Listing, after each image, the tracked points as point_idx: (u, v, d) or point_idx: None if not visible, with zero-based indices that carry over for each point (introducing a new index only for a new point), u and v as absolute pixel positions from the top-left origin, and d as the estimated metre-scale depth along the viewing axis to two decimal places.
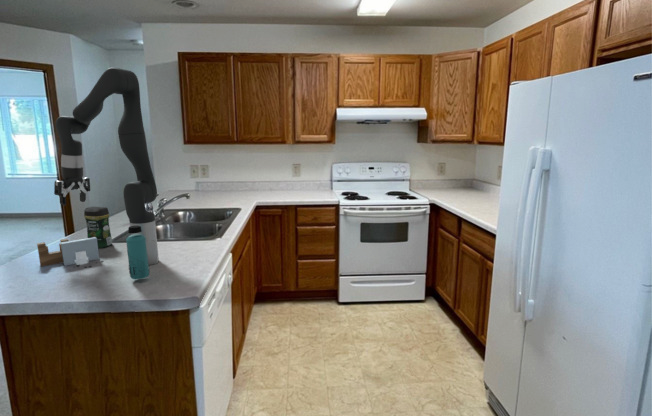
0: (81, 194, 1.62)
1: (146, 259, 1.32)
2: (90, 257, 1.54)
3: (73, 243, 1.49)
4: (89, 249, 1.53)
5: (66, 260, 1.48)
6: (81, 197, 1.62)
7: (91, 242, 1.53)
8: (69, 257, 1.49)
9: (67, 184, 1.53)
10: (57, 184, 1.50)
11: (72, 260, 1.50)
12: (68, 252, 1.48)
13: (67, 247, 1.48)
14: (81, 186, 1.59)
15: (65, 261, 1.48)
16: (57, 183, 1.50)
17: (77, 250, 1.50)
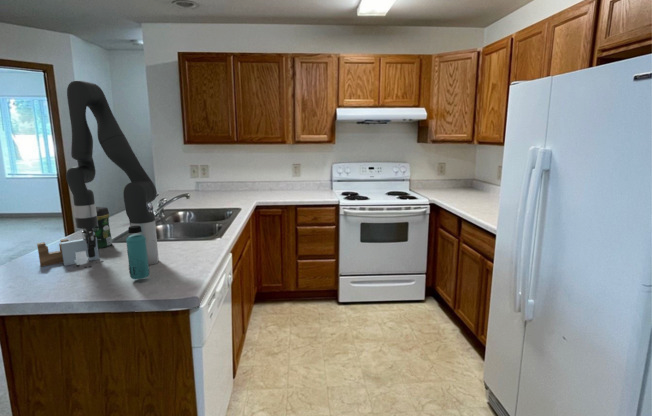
0: None
1: (146, 259, 1.32)
2: (90, 257, 1.54)
3: (73, 243, 1.49)
4: None
5: (66, 260, 1.48)
6: None
7: None
8: (69, 257, 1.49)
9: (93, 236, 1.52)
10: (93, 239, 1.49)
11: (72, 260, 1.50)
12: (68, 252, 1.48)
13: (67, 247, 1.48)
14: None
15: (65, 261, 1.48)
16: (93, 238, 1.49)
17: (77, 250, 1.50)
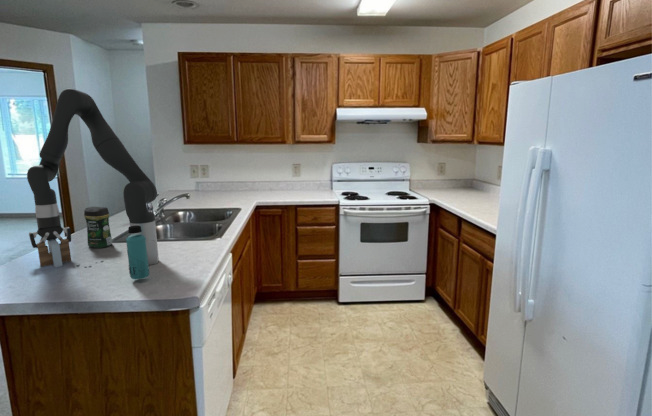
0: None
1: (146, 259, 1.32)
2: None
3: None
4: None
5: (61, 260, 1.48)
6: None
7: None
8: None
9: None
10: None
11: None
12: None
13: None
14: None
15: (61, 261, 1.48)
16: None
17: None
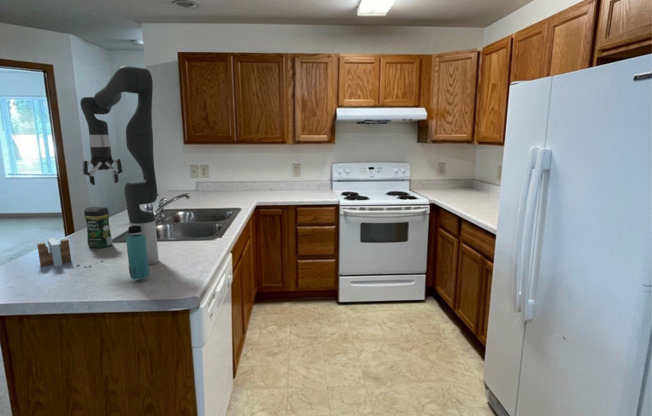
0: None
1: (146, 259, 1.32)
2: None
3: None
4: None
5: (61, 260, 1.48)
6: None
7: None
8: None
9: None
10: None
11: None
12: None
13: None
14: None
15: (61, 261, 1.48)
16: None
17: None
